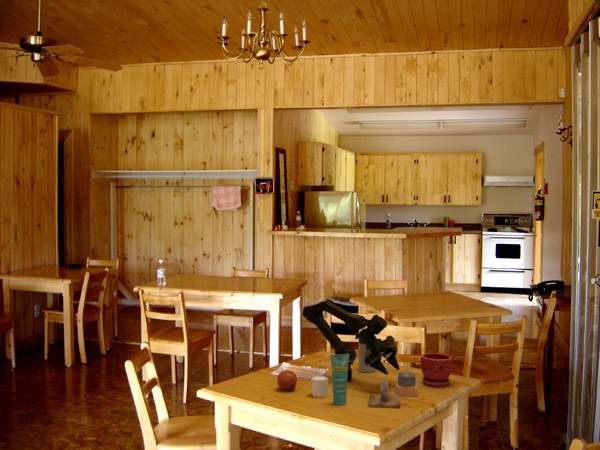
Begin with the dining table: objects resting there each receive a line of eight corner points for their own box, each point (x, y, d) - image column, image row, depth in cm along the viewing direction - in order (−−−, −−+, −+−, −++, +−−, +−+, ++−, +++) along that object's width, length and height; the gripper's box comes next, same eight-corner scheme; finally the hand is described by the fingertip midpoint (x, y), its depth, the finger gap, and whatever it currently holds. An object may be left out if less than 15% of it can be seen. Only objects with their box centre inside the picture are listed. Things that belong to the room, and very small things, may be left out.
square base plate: (368, 406, 228) (368, 386, 228) (369, 397, 240) (369, 377, 240) (400, 408, 226) (400, 387, 226) (399, 398, 238) (399, 378, 238)
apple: (283, 385, 256) (283, 367, 256) (301, 388, 252) (301, 369, 252) (274, 390, 249) (274, 371, 249) (292, 393, 245) (291, 374, 245)
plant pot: (452, 388, 250) (452, 360, 249) (420, 386, 253) (420, 358, 252) (452, 380, 262) (452, 352, 262) (421, 378, 265) (421, 351, 265)
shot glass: (330, 393, 245) (330, 376, 245) (325, 398, 238) (325, 381, 238) (314, 392, 247) (314, 375, 247) (308, 397, 241) (308, 379, 240)
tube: (332, 406, 229) (332, 356, 229) (329, 402, 234) (328, 353, 234) (351, 404, 231) (350, 354, 231) (347, 400, 236) (347, 351, 235)
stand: (397, 395, 241) (397, 387, 241) (396, 389, 249) (396, 381, 249) (417, 396, 240) (417, 387, 240) (416, 390, 248) (416, 381, 248)
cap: (402, 387, 240) (402, 377, 240) (395, 382, 247) (395, 372, 247) (417, 386, 242) (417, 375, 242) (410, 381, 249) (410, 371, 249)
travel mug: (359, 367, 283) (359, 330, 283) (376, 368, 282) (376, 330, 281) (358, 372, 276) (357, 333, 275) (375, 373, 274) (375, 334, 273)
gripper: (370, 333, 244) (394, 365, 237) (394, 326, 258) (416, 356, 252) (354, 349, 249) (376, 381, 243) (378, 341, 263) (399, 371, 257)
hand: (393, 371), depth 248 cm, fingers open, 9 cm apart
